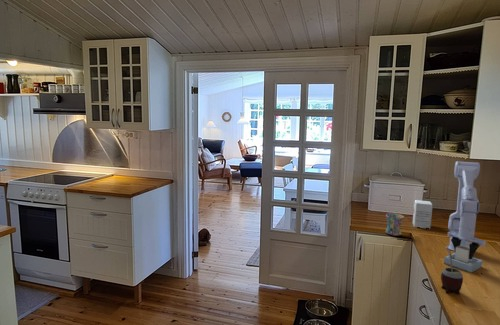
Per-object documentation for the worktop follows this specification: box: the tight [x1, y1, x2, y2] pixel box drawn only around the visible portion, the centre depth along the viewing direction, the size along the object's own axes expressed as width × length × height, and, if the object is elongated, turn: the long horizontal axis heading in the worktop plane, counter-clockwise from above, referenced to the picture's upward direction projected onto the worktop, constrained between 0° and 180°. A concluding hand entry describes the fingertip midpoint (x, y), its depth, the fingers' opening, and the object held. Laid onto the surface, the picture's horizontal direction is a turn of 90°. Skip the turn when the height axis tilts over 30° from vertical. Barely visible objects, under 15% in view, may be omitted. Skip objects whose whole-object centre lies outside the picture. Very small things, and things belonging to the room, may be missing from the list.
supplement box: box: [412, 199, 433, 230], centre depth 207 cm, size 9×9×15 cm
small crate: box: [454, 245, 472, 264], centre depth 151 cm, size 5×5×6 cm
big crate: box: [443, 252, 484, 274], centre depth 152 cm, size 11×11×3 cm
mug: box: [385, 212, 405, 237], centre depth 190 cm, size 12×9×11 cm
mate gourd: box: [440, 246, 464, 295], centre depth 128 cm, size 8×8×15 cm
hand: (463, 256), depth 152 cm, fingers closed on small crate, 5 cm apart
